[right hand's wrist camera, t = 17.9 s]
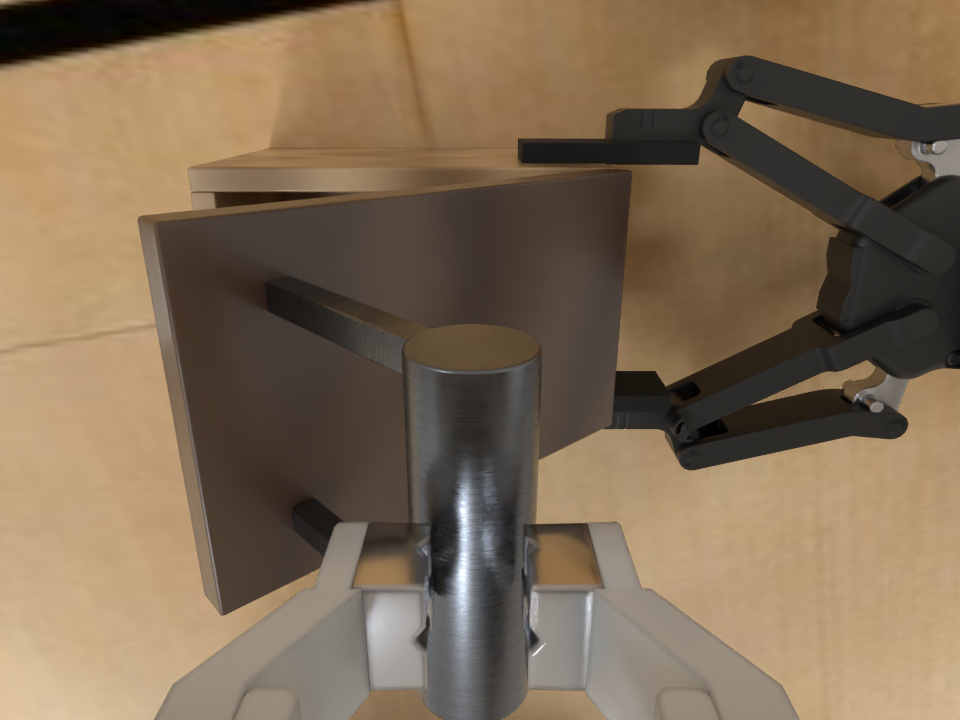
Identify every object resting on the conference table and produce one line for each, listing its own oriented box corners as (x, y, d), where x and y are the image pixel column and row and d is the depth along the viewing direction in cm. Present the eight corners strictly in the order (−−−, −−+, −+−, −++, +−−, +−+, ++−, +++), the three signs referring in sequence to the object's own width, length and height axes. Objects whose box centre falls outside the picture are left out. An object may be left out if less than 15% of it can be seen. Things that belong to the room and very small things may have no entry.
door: (203, 595, 17) (408, 858, 11) (135, 216, 13) (379, 305, 8) (590, 415, 26) (809, 505, 21) (607, 168, 23) (873, 191, 17)
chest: (287, 333, 36) (223, 414, 26) (267, 148, 32) (185, 167, 23) (565, 332, 36) (598, 413, 27) (575, 148, 32) (616, 167, 23)
